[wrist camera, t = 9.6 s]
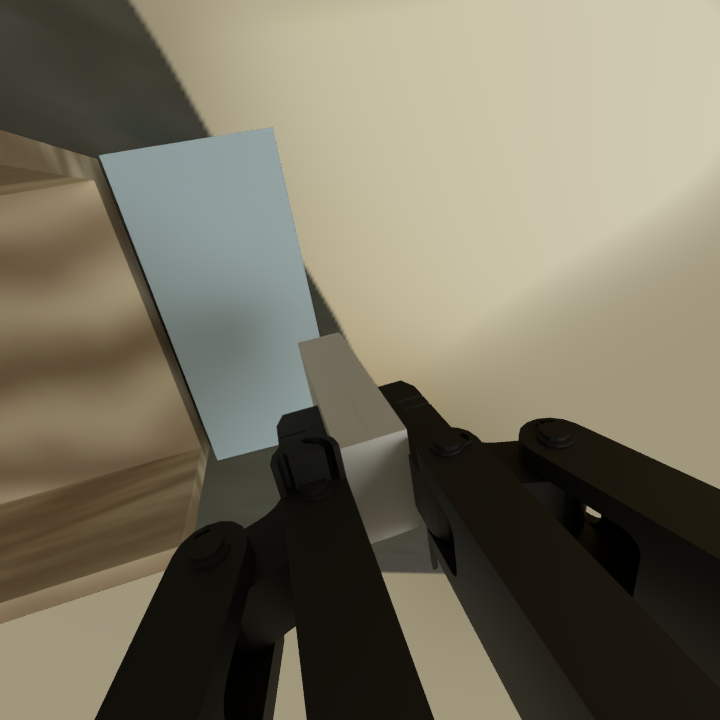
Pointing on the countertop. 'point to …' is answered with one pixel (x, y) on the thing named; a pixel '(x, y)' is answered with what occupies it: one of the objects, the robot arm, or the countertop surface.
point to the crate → (83, 393)
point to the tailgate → (223, 276)
